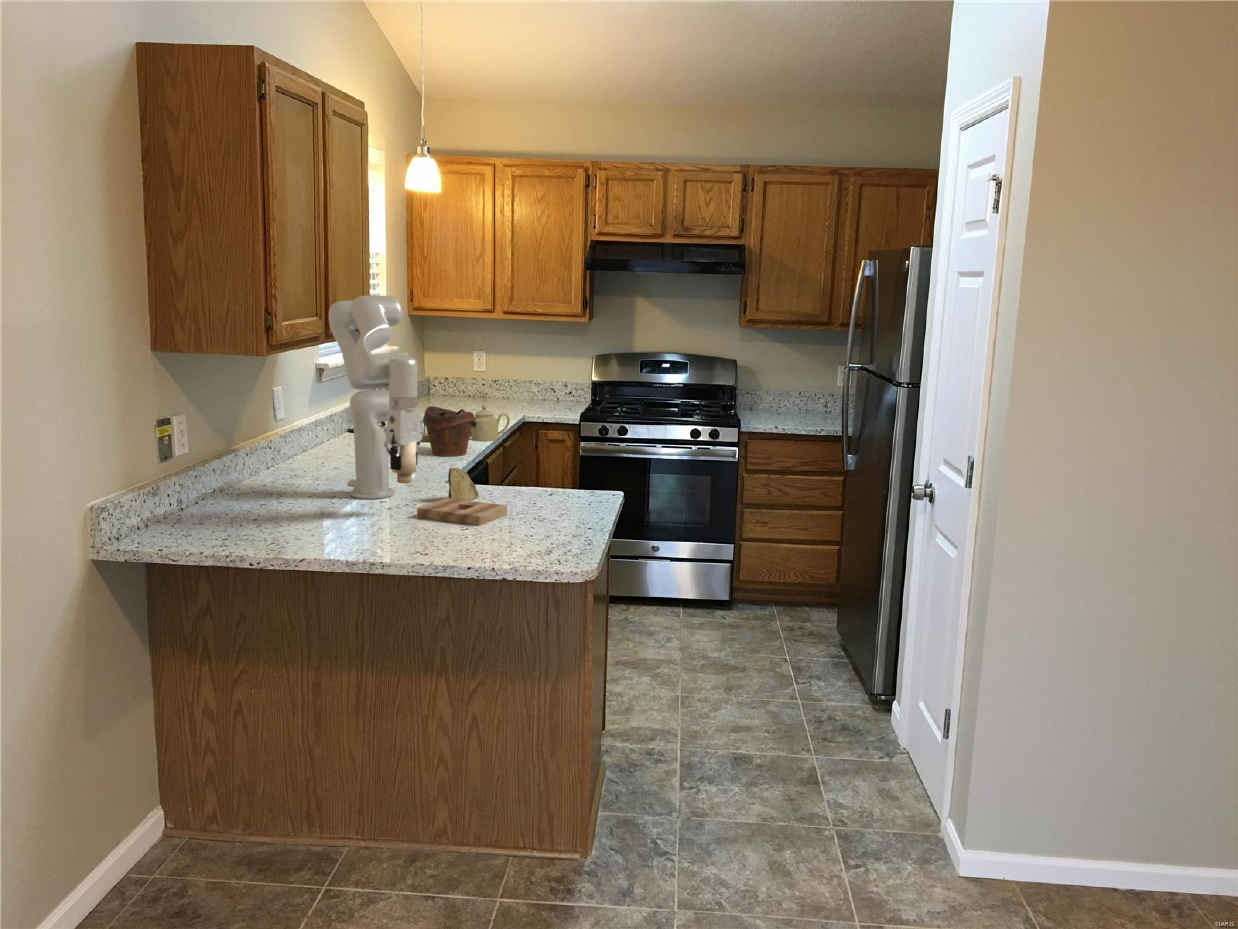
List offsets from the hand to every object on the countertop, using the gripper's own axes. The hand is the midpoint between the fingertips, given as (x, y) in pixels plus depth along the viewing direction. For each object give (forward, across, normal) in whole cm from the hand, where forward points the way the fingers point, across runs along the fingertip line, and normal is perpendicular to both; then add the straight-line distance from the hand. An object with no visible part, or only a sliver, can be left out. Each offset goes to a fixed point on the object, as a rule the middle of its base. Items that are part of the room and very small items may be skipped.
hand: (404, 466), depth 257 cm
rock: (+14, +21, -5) cm, 26 cm away
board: (+13, +4, -16) cm, 21 cm away
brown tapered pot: (+17, +86, +44) cm, 98 cm away
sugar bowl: (+19, +124, +52) cm, 136 cm away
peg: (+4, 0, 0) cm, 4 cm away
